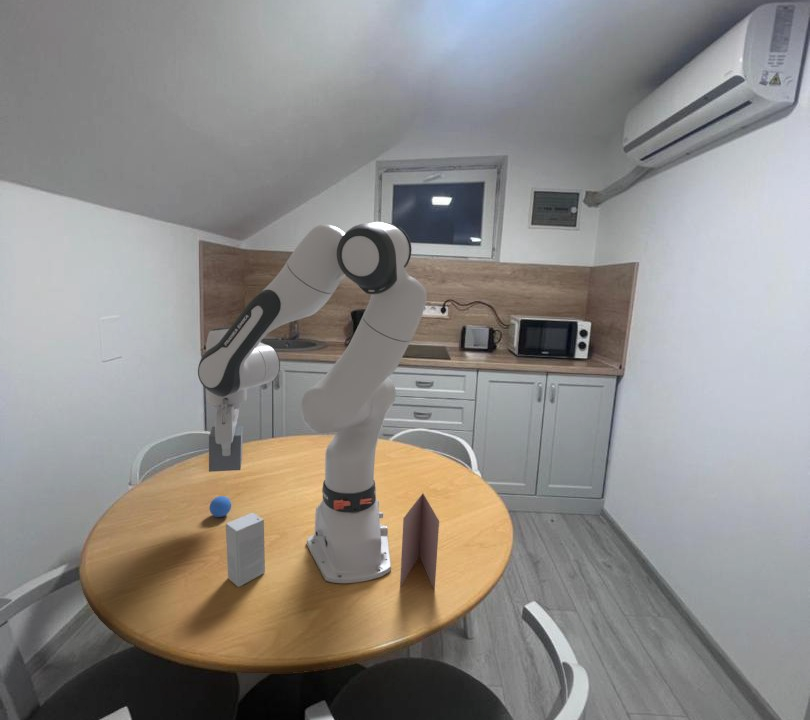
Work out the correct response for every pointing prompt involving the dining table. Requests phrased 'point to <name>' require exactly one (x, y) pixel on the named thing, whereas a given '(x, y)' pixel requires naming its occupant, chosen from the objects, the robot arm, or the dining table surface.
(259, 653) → the dining table surface
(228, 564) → the skincare box
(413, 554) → the greeting card
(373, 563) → the robot arm
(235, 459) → the balanced grey cube
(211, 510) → the ball
